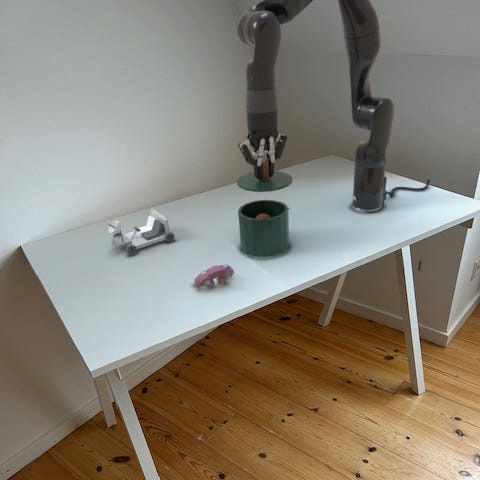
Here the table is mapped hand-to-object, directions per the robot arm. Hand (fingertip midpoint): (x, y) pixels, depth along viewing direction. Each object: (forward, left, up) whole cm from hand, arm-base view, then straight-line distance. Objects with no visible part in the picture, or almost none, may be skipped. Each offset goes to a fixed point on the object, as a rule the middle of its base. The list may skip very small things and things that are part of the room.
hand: (264, 177), depth 128 cm
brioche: (+1, -1, -20) cm, 20 cm away
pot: (+1, 0, -20) cm, 20 cm away
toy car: (+30, -25, -21) cm, 44 cm away
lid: (0, 0, -1) cm, 1 cm away
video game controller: (+22, +10, -21) cm, 31 cm away
